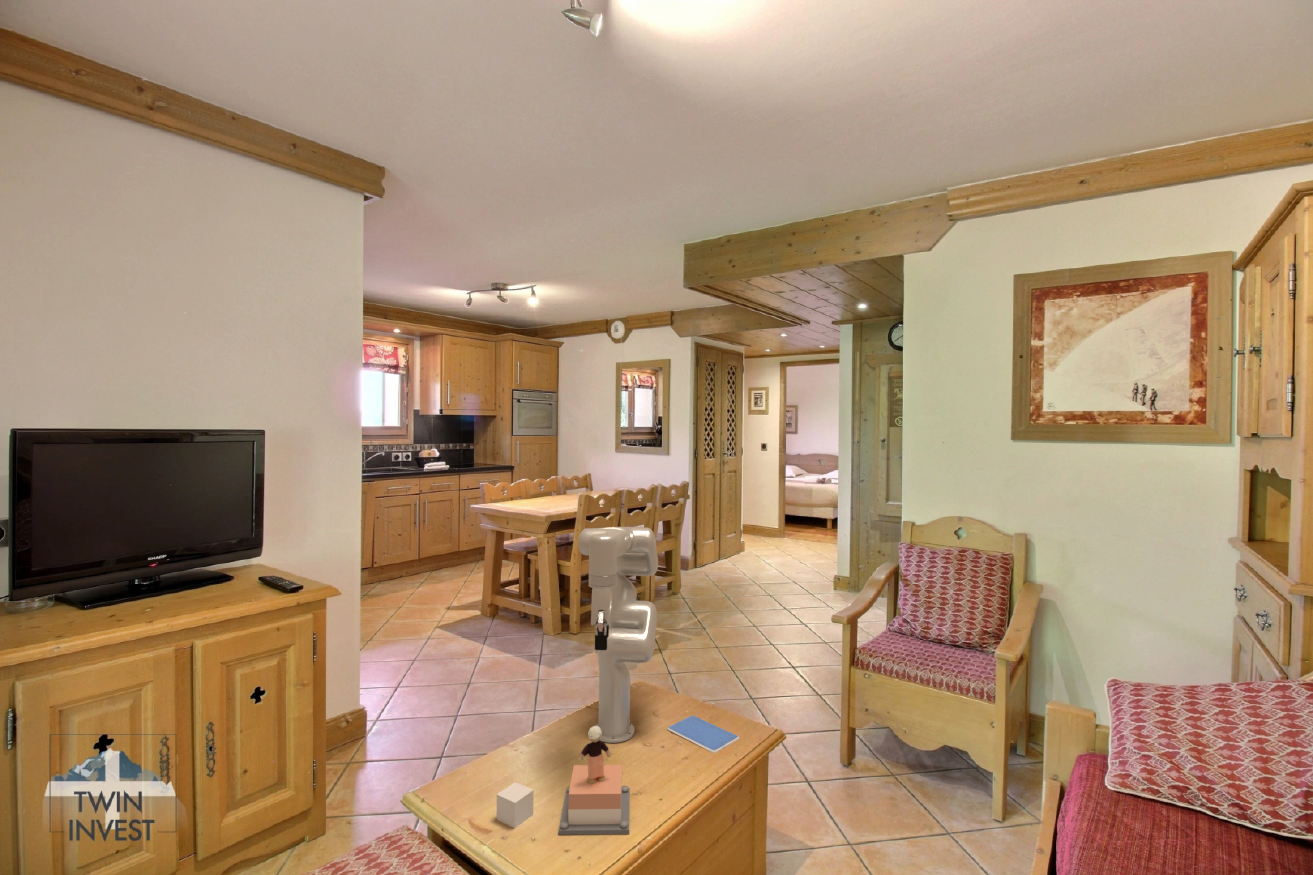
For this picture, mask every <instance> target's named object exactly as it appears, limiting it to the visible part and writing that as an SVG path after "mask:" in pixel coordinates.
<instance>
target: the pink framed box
mask: <svg viewBox="0 0 1313 875" xmlns="http://www.w3.org/2000/svg"><path fill="white" fill-rule="evenodd" d="M604 775H605V780H604V781H601V782H600V781H598V779H597V778H595V780H596V783H594V784H590V783H589V782H588V781H587V778H588V764H578V765H577V764H575V765H573V770H572V774H571V780H570V785H569V786H568V787H567V788H566V789H565V793H564V800H563V805H562V810H561V814H560V819H559V825H558V830H557V831H558V832H557V834H558V836H580V835H581V836H583V835H585V836H586V835H589V836H591V835H593V836H594V835H630V809H631V808H630V805H631V804H630V802H631V801H630V799H631V798H630V797H631V794H630V791H631V787H629V786H628V785H623V781H622V780H623V764H604Z"/></svg>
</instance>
